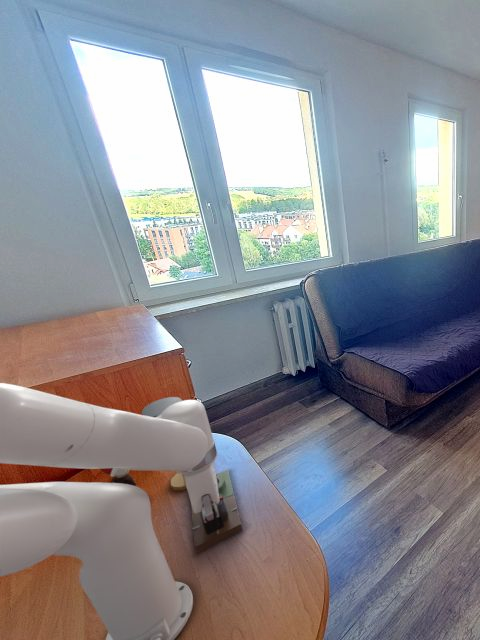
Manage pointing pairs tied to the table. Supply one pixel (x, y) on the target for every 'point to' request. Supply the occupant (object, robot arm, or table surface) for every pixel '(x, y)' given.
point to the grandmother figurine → (122, 476)
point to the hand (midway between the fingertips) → (213, 514)
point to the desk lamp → (156, 410)
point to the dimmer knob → (221, 509)
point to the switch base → (224, 485)
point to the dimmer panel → (229, 529)
